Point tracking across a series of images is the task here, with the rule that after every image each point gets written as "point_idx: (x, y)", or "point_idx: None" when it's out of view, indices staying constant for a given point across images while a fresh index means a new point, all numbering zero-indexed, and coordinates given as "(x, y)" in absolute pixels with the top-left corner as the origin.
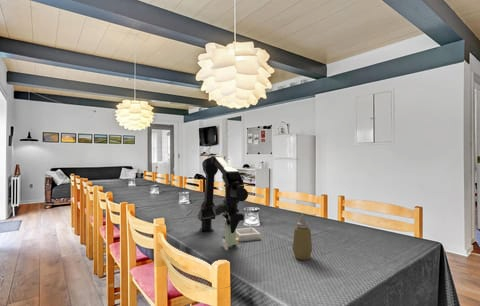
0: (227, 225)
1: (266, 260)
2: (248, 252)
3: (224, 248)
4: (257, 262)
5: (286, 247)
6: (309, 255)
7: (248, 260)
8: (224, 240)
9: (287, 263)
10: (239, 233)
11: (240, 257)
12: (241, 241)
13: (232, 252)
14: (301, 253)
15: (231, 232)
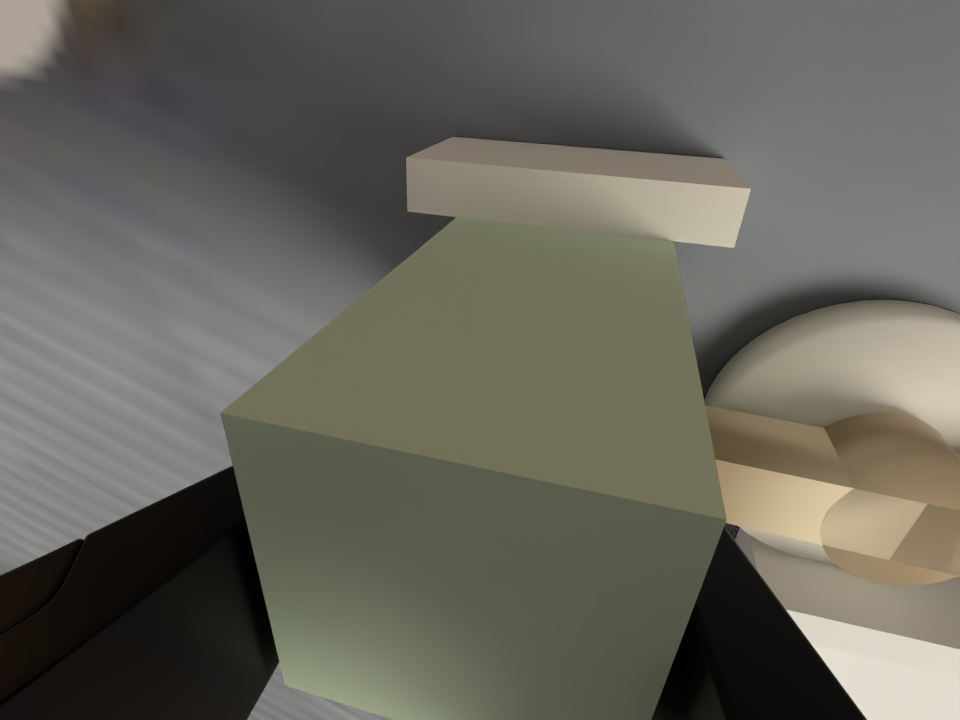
0: (573, 578)
1: (78, 438)
2: None
3: (543, 144)
4: (24, 344)
5: (353, 709)
6: None
7: (63, 286)
8: (626, 208)
9: (37, 526)
10: (896, 661)
11: (145, 239)
12: (736, 537)
13: (332, 211)
14: None
15: None
